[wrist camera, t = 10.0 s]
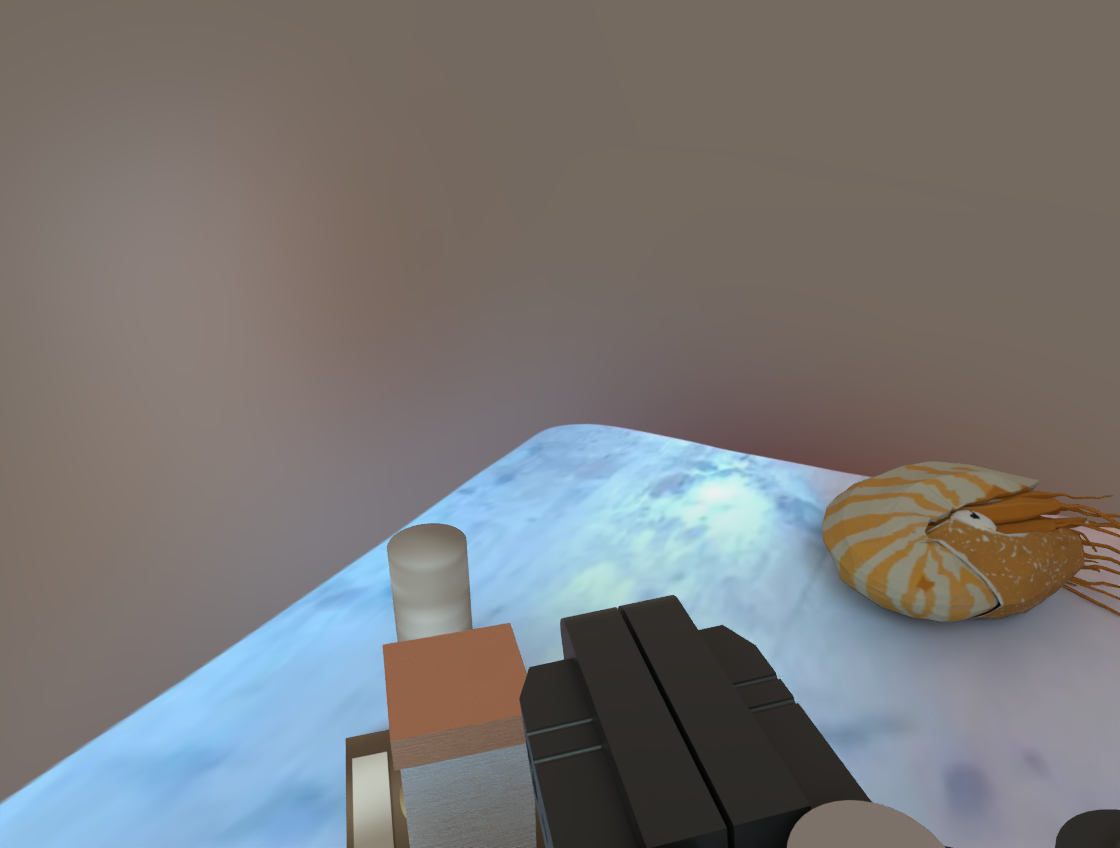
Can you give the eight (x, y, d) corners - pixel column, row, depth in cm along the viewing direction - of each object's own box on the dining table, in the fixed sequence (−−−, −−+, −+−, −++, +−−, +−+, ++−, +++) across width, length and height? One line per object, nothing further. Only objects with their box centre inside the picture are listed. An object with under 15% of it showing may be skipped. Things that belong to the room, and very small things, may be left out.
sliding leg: (420, 944, 28) (382, 644, 23) (523, 917, 29) (510, 622, 24) (431, 1061, 25) (390, 741, 19) (547, 1026, 25) (538, 711, 20)
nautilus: (1129, 565, 54) (1225, 730, 41) (812, 508, 59) (809, 638, 47) (1174, 468, 51) (1294, 615, 38) (831, 415, 56) (834, 529, 43)
